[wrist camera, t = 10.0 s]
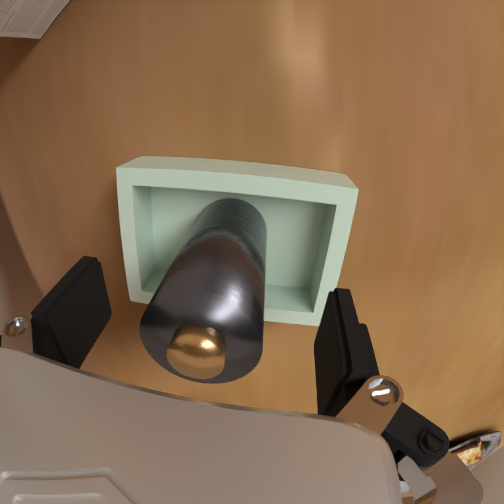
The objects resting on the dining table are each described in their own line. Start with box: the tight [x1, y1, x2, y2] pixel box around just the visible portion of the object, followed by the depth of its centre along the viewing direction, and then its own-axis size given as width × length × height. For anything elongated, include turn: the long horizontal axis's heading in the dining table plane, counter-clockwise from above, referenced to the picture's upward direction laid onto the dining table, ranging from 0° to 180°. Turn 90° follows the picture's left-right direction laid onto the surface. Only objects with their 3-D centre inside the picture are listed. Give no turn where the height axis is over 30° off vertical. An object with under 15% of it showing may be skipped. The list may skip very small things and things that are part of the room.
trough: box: [116, 156, 359, 326], centre depth 19 cm, size 9×13×4 cm
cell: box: [140, 198, 267, 383], centre depth 15 cm, size 4×4×11 cm
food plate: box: [399, 431, 502, 493], centre depth 36 cm, size 25×23×4 cm
